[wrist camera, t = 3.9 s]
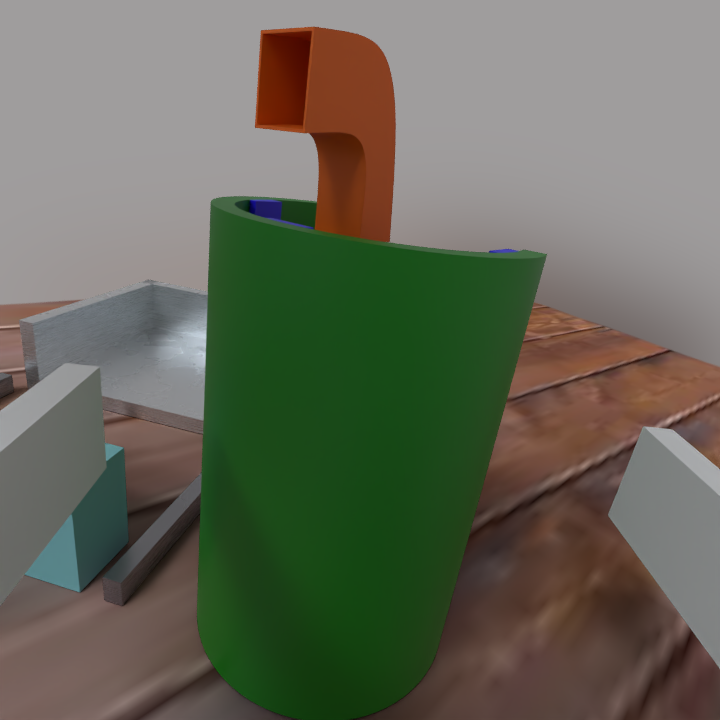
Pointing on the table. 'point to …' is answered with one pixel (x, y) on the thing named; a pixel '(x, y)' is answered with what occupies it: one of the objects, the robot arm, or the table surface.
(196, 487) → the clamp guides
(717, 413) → the table surface
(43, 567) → the bar
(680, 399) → the table surface
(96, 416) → the robot arm
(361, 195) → the motor
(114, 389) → the tray
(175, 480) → the table surface
